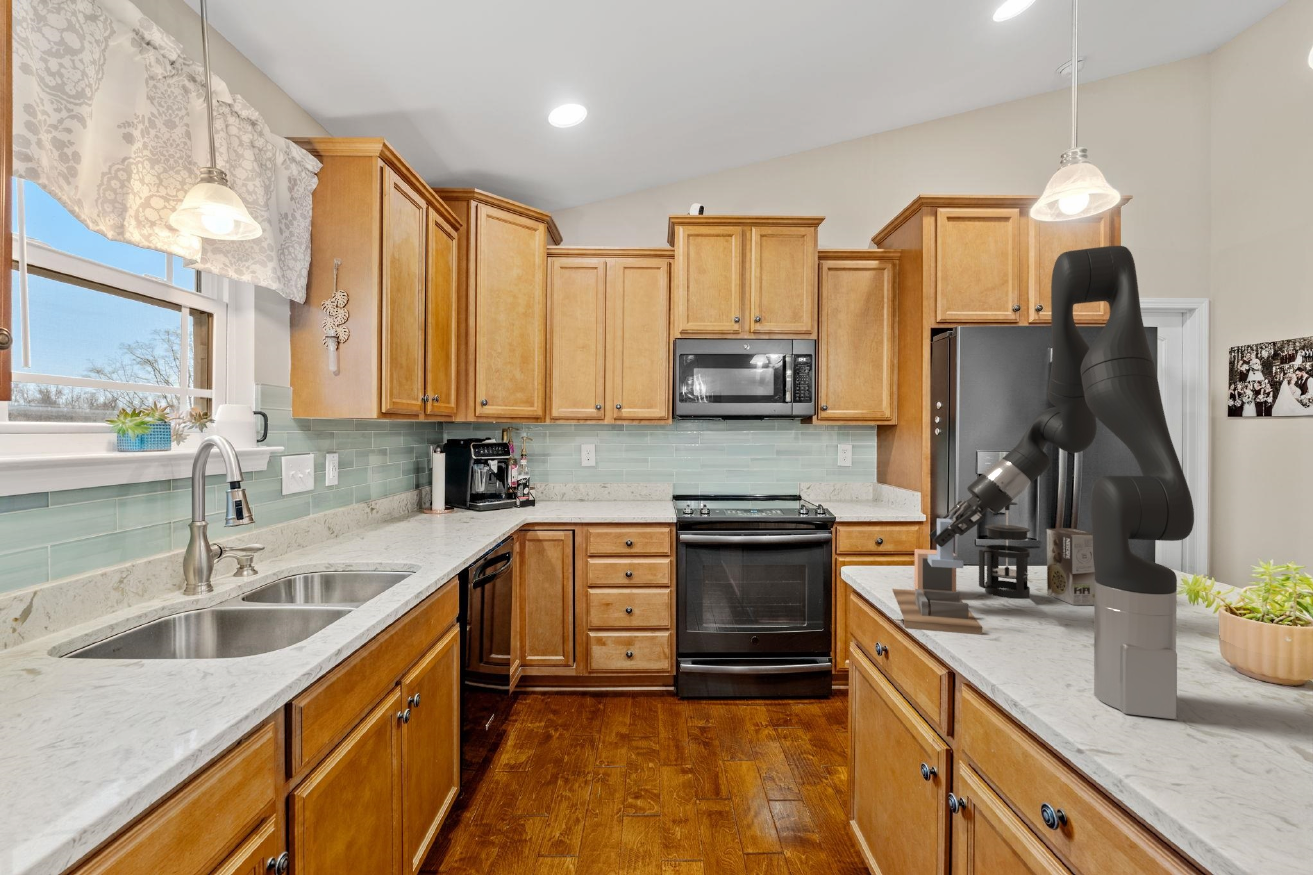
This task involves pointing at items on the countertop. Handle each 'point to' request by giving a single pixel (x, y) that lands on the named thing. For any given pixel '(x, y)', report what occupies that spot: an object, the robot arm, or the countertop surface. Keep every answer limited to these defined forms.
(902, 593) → the rail
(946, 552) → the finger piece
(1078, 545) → the coffee box
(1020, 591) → the french press
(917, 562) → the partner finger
